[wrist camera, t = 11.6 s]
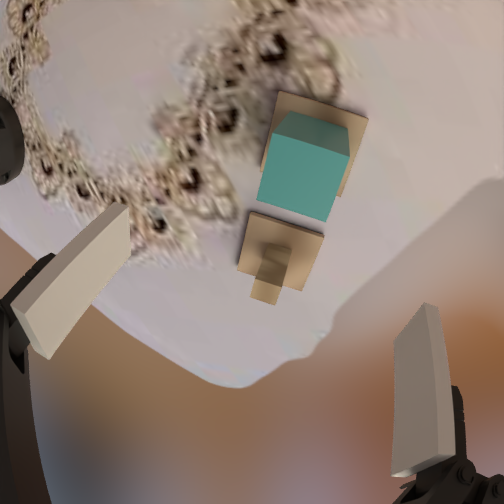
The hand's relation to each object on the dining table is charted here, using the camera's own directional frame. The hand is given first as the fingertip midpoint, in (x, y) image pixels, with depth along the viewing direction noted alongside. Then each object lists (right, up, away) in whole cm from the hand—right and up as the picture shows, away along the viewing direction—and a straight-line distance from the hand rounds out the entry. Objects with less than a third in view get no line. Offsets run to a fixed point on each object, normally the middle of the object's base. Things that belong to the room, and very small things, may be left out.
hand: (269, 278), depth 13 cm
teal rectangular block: (+5, +10, +14) cm, 18 cm away
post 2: (+2, +1, +23) cm, 23 cm away
